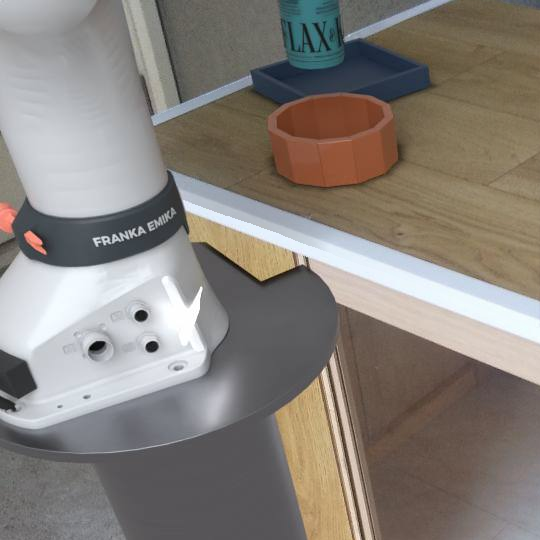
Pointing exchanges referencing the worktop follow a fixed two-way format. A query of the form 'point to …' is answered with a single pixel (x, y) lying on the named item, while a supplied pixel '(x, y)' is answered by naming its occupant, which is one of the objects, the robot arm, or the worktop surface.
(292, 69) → the tray
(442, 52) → the worktop surface
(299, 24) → the beverage bottle
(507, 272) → the worktop surface
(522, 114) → the worktop surface
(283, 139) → the bowl
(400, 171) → the worktop surface
